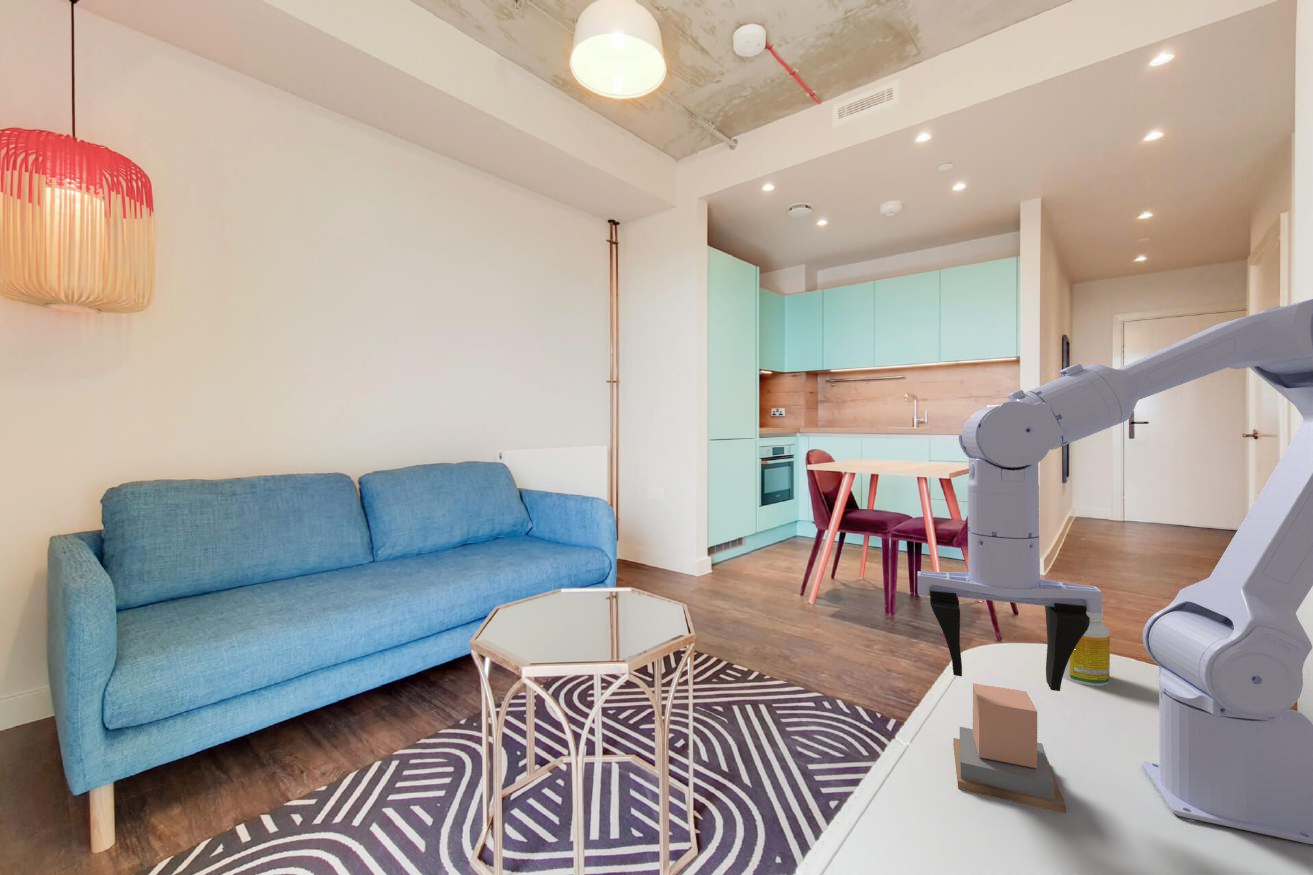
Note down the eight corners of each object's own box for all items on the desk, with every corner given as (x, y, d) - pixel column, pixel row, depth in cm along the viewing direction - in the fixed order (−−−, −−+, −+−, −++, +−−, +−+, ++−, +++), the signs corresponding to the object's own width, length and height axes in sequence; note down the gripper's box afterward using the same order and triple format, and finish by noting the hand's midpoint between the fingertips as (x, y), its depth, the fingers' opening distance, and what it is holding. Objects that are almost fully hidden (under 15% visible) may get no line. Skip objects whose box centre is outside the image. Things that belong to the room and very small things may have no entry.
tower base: (1046, 771, 55) (1046, 756, 55) (1065, 823, 48) (1065, 805, 48) (953, 752, 58) (953, 737, 58) (958, 797, 51) (958, 780, 51)
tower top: (1042, 758, 54) (1042, 743, 54) (1054, 800, 48) (1054, 783, 48) (959, 741, 58) (959, 726, 58) (960, 778, 51) (960, 761, 51)
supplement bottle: (1047, 673, 75) (1047, 601, 75) (1080, 669, 77) (1080, 598, 77) (1086, 691, 70) (1086, 613, 70) (1121, 687, 71) (1120, 610, 71)
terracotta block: (1026, 743, 54) (1026, 691, 54) (1037, 768, 50) (1037, 711, 50) (972, 734, 56) (972, 683, 56) (979, 756, 52) (979, 701, 52)
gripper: (1086, 531, 54) (1087, 675, 54) (917, 522, 60) (918, 651, 60) (1109, 544, 47) (1110, 708, 47) (917, 533, 53) (918, 678, 53)
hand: (1003, 678), depth 53 cm, fingers open, 7 cm apart
